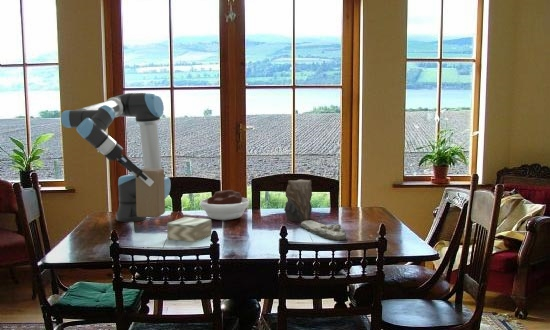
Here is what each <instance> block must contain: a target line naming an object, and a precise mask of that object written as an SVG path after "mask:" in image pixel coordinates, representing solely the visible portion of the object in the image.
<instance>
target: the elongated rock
mask: <svg viewBox="0 0 550 330" xmlns="http://www.w3.org/2000/svg"><path fill="white" fill-rule="evenodd" d="M300 227H301V228H303V229H305V230H306V231H309V232H311V233H312V234H314V233H315V235H318V236H320V237H322V238H324V239H328V240H334V241H335V240H336V241H343V240H346V239H347V232H346V230H345V229H343V228H342V225H340V224H332V223H331V224H329V225H327V224H323V223H320V222H318V221H315V220H313V219H309V220H307V221H303V222H300Z"/></svg>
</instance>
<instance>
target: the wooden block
mask: <svg viewBox="0 0 550 330" xmlns="http://www.w3.org/2000/svg"><path fill="white" fill-rule="evenodd" d="M140 169H141V168H140ZM141 170H142V171H143V172H144V173H145V174H146V175H147V176H148V177H149V178H150V179H152V180H153V181H154V183H153V184H152V185H151V186H150V187H149V186H148V185H147V184H146V183H145V182H144V181H143V180H141V179H140V178H139V177H138V178H137V177H136V211H137V216H138V217H146V218H156V219H157V218H159V217H161V216H162V215H163V214H164V215H165V213H166V199H165V186H164V172H165V169H164V168H162V169H157V168H144V167H143V168H142V169H141ZM138 172H139V171H138ZM138 172H137V173H138ZM135 176H137V175H136V174H135Z"/></svg>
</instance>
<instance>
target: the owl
mask: <svg viewBox="0 0 550 330" xmlns="http://www.w3.org/2000/svg"><path fill="white" fill-rule="evenodd" d="M287 183H288V184H287V187H286V190H285V197H286V198H287V201H286V202H285V206H284V209H283V211H284V213H285V217H286V221H289V222H291V221H292V222H300V223H302V222H303V221H307V220H311V216H312V210H313V208H312V207H313V206H312V202H311V201H312V196H313V188H312V180H311V179H309V180H308V179H302V178H301V179H297V180H288V181H287Z"/></svg>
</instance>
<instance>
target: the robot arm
mask: <svg viewBox="0 0 550 330" xmlns="http://www.w3.org/2000/svg"><path fill="white" fill-rule="evenodd" d="M164 108H165V107H164V103H163V100H162V98H161V96H160V95H159V94H157V93H156V92H128V93H127V92H126V93H123V94H120V95H116V96H113V97H110V98H108V99H107V100H106V101H103V102H99V103H95V104H91V105H88V106H85V107H82V108H77V109H74V110H73V109H69V110H68V109H67V110H64V111H62V113H61V115H60V122H61V124H62V126H63V127H64V128H67V129H69V128H70V129H73V128H75V129H76V132H77V133H78V134H79V135H80V137H82V139H84V140H85V141H86V142H88V143H89V144H90V145H91V146H93V148H95V149H96V150H97V153H100V154H102V155H103V156H104V157H105V158H106V159H107V160H109V161H110V162H113V161H115V160H116V163H118V164H119V165H121V166H122V167H124V168H125V169H126V170H127V171H128V172H129V173H130V174H126V175H121V176H120V177H118V181H117V187H118V208H117V211H116V214H115V217H116V218H115V220H116V222H123V223H132V222H139V221H143V220H147V217H138V216H137V211H136V177H137V178H138V177H139V178H140V179H141V180H143V181H144V182H145V183H146V184H147V185H148V186H149V187H150V186H151V185H152V184H153V183H154V181H153V180H152V179H150V178H149V177H148V176H147V175H146V174H145V173H144V172H143V171H142V170H141V168H139V167H138V165H136V164H135V163H134V162H133V161H132V160H131V159H129V157H128V156H127V155H126V154H122V152H123V151H124V148H123V147H122V146H121V145H120V144H119V143H118V142H117V141H116V140H115V139H114V138H112V137H111V136H110V135H109V134H108V133H107V132H106V131H107V129H108V128H109V127H110V125H111V124H112V123H113V121H114V120H115V118H118V117H127V118H128V117H130V118H131V117H132V118H135V122H136V123H137V124H138V125H139V133H140V143H141V151H142V153H141V154H142V161H143V169H144V168H157V169H163V168H162V158H161V149H160V148H161V147H160V137H159V130H158V129H159V128H158V123H159V122H160V120H161V117H162V116H163V114H164ZM138 171H139V172H138ZM137 172H138V173H137ZM135 174H136V175H137V176H135ZM171 183H172V182H171V179H170V177H168V176H166V172H165V171H164V186H165V200H166V199H167V198H168V196H169V194H170V191H171V186H172V185H171Z"/></svg>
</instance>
